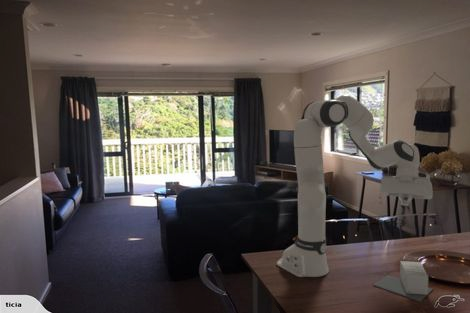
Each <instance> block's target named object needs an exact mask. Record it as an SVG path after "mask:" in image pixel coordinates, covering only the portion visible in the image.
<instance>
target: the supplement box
mask: <svg viewBox="0 0 470 313" xmlns="http://www.w3.org/2000/svg"><path fill="white" fill-rule="evenodd" d="M399 278H400V279H401V281H402V284H403V286H404V289H405V291H406V293H411V294H422V295H427V296H428V295H429V294H428V288H429V275H428V273H427V271H426V270H425V268H424V266H423V265H422V263H421V262H419V261H406V260H405V261H403V260H400V264H399Z"/></svg>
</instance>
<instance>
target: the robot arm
mask: <svg viewBox="0 0 470 313" xmlns="http://www.w3.org/2000/svg"><path fill="white" fill-rule="evenodd" d="M374 120H375V119H374V116H373V113H372V112H371V111H370V110H369V109H368V108H367V107H366V106H365V105H364V104H362V103H361V102H360V101H358V99H356V98H354V97H352V96H351V95H349V94H342V95H339V96H338V97H336V99H321V100H317V101H312V102H311V103H308V104H306V106H305V107H304V109H303V111H302V116H301V118H300V120H298V121H297V122H296V123H295V125H294V129H293V146H294V160H295V168H296V176H297V185H298V186H297V188H298V189H297V216H298V217H297V225H298V226H297V228H298V229H297V230H298V231H297V233H298V235H296V236H295V237H293V238H292V241H294V243H293V244H292V245H290V246H289V247H287V248H285V250H284V251H283V253H282V257H281V258H280V259H278V261H276V266H278V267H280V268H281V269H283V270H285V271H287V272H288V273H291V274H292V275H294V276H296V277H297V278H298V277H299V278H303V277H305V278H306V277H308V278H309V277H310V278H318V277H323V276H325V275H326V276H327V275H328V274H329V272H330V269H329V266H328V261H327V255H326V251H327V237H326V210H327V209H326V208H327V205H326V204H327V194H326V185H325V173H324V159H323V147H322V146H323V144H322V138H321V136H322V131H323V129H324V128H335V127H337V126H340V125H341V124H343V126H345V127H346V128H347V129H348V136H349V139H350V140H351V142H352V143H353V144H354V145H355V146H356V148H357V149H358V150H359V151H360V152H361V153H362V155H363V156H364V157H365V158H366V160H367V162H368V164H369V165H370V166H371V168H374V169H376V170H379V171H380V170H385V169H387V168H388V167H390V166H394V165H396V166H397V168H396V173H395V174H396V175H395V176H394V175H384V176H382V177H381V179H380V190H379V192H380V195H382V196H387V197H390V196H391V197H398V199H399V201H400V205H401V206H405V207H409V205H410V202H411V201H412V200H413V199H420V200H421V199H422V200H432V199H433V197H434V196H433V195H434V193H433V192H434V191H433V184H432V182H431V176H430V174H428V173H425V172H422V171H420V170H419V167H420V151H419V148H418V147H417V146H416V145H415V144H412V143H407V142H406V141H403V140H402V139H397V140H393V141H390V142H388V143H386V144H383V145H381V146H377V147H375V146H373V145H372V143H371V142H370V141H369V140H368V139H367V137H366V136H367V135H368V134H369V132H370V131H371V130H372V128H373V126H374V122H375V121H374ZM403 198H407V200H406V199H403Z"/></svg>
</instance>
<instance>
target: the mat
mask: <svg viewBox="0 0 470 313" xmlns="http://www.w3.org/2000/svg"><path fill="white" fill-rule="evenodd" d="M373 286H374V287H377V288H379V289H382V290H385V291H388V292H391V293H394V294H397V295H400V296H402V297H405V298H408V299H411V300H414V301H417V302H419V303H421V302H422V301H423V300H424V299H426V298H427V296H428V295H429V294H430V293H431V292H432V291H433V290H434V289H433V288H431V287H428V295H422V294H411V293H406V291H405V289H404V286H403V284H402V281H401V279H400V277H397V276H393V275H390V274H387V275H385V276H384V277H382V278H381V279H379V280H378V281H377V282H375V283H374V284H373Z"/></svg>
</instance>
